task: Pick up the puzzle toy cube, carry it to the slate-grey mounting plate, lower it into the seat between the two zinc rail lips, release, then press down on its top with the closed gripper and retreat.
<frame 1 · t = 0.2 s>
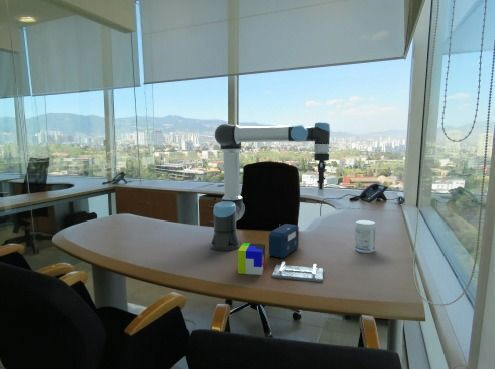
hand: (320, 193, 166), 28 cm above the table, fingers open, 13 cm apart
supplement tub: (364, 250, 160), on the table
puzzle toy: (252, 269, 138), on the table
rail plate: (298, 274, 132), on the table
radio: (284, 252, 159), on the table
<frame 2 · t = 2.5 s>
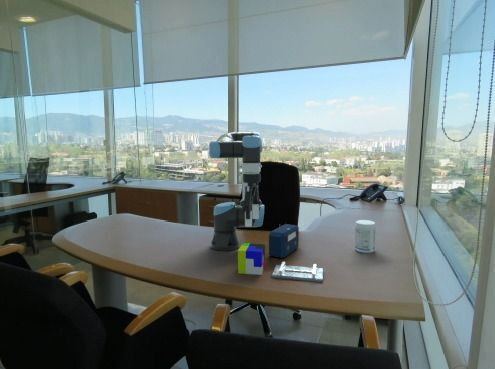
hand: (252, 222, 135), 21 cm above the table, fingers open, 13 cm apart
nothing on the table moved.
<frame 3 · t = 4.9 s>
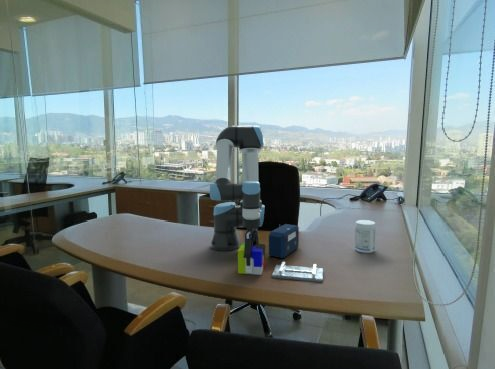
hand: (251, 267, 138), 1 cm above the table, fingers closed on puzzle toy, 10 cm apart
puzzle toy: (252, 269, 138), on the table, touching gripper
everything else where it was.
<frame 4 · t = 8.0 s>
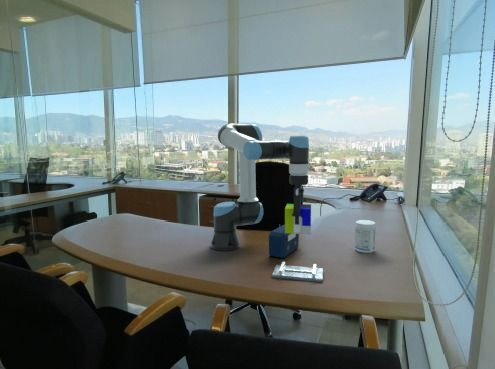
hand: (298, 228, 129), 20 cm above the table, fingers closed on puzzle toy, 10 cm apart
puzzle toy: (298, 230, 130), point 19 cm above the table, touching gripper
everything else where it was.
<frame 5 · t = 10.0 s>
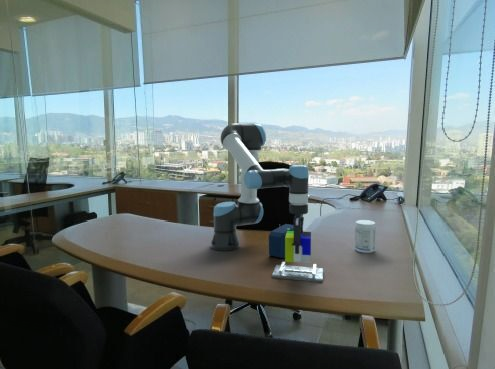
hand: (298, 256, 131), 8 cm above the table, fingers closed on puzzle toy, 10 cm apart
puzzle toy: (298, 258, 131), point 7 cm above the table, touching gripper
everything else where it was.
when the fingers open (3 cm above the table, at t = 11.5 s): puzzle toy stays where it is, resting on rail plate.
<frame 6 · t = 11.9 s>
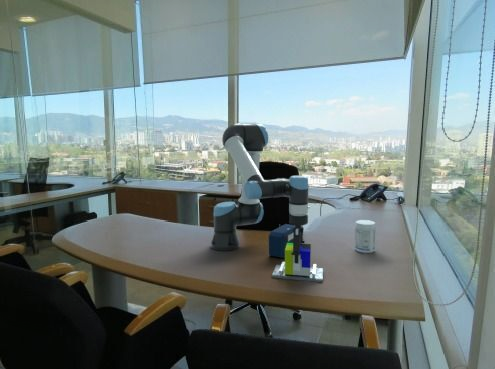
hand: (298, 264, 131), 4 cm above the table, fingers open, 13 cm apart
puzzle toy: (297, 270, 132), point 2 cm above the table, touching rail plate
everything else where it was.
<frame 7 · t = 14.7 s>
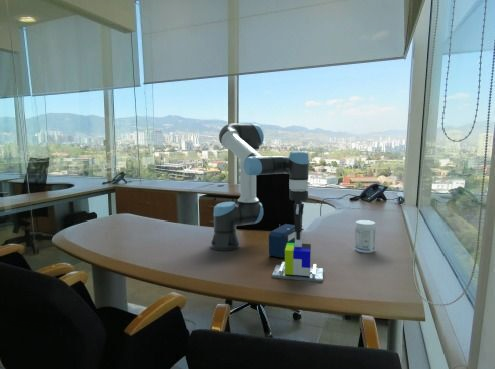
hand: (298, 246, 130), 12 cm above the table, fingers closed
nothing on the table moved.
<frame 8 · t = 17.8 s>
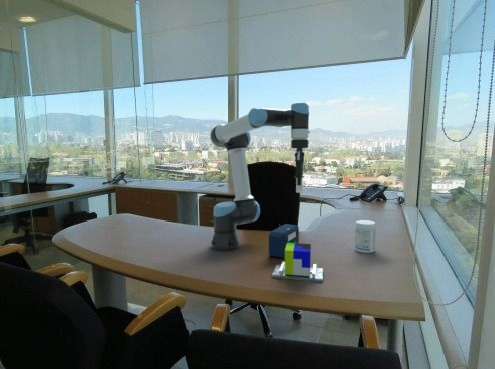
hand: (299, 192, 142), 32 cm above the table, fingers closed
nothing on the table moved.
at the end: puzzle toy 0.1 cm from the rail plate (horizontally); puzzle toy touching rail plate; puzzle toy tilted 0° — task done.
